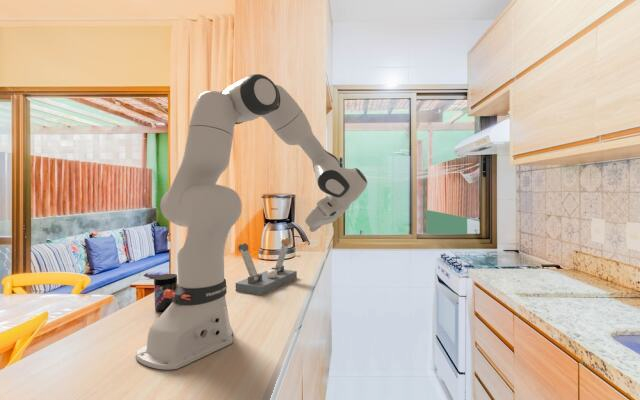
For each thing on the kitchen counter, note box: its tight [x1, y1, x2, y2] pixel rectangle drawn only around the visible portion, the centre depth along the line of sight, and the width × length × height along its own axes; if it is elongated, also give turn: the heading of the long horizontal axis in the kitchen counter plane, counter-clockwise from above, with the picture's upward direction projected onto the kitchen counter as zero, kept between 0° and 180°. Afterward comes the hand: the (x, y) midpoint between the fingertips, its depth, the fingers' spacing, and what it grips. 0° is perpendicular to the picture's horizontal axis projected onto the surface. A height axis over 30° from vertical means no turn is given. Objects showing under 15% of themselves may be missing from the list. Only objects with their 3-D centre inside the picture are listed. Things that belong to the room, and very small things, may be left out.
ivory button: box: [267, 268, 277, 278], centre depth 125 cm, size 4×4×3 cm
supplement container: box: [153, 273, 178, 313], centre depth 101 cm, size 7×7×10 cm
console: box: [235, 264, 298, 296], centre depth 126 cm, size 24×12×5 cm, turn 153°
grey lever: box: [237, 242, 260, 282], centre depth 120 cm, size 3×3×15 cm
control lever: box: [274, 237, 291, 272], centre depth 131 cm, size 3×3×15 cm
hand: (312, 230), depth 124 cm, fingers closed
